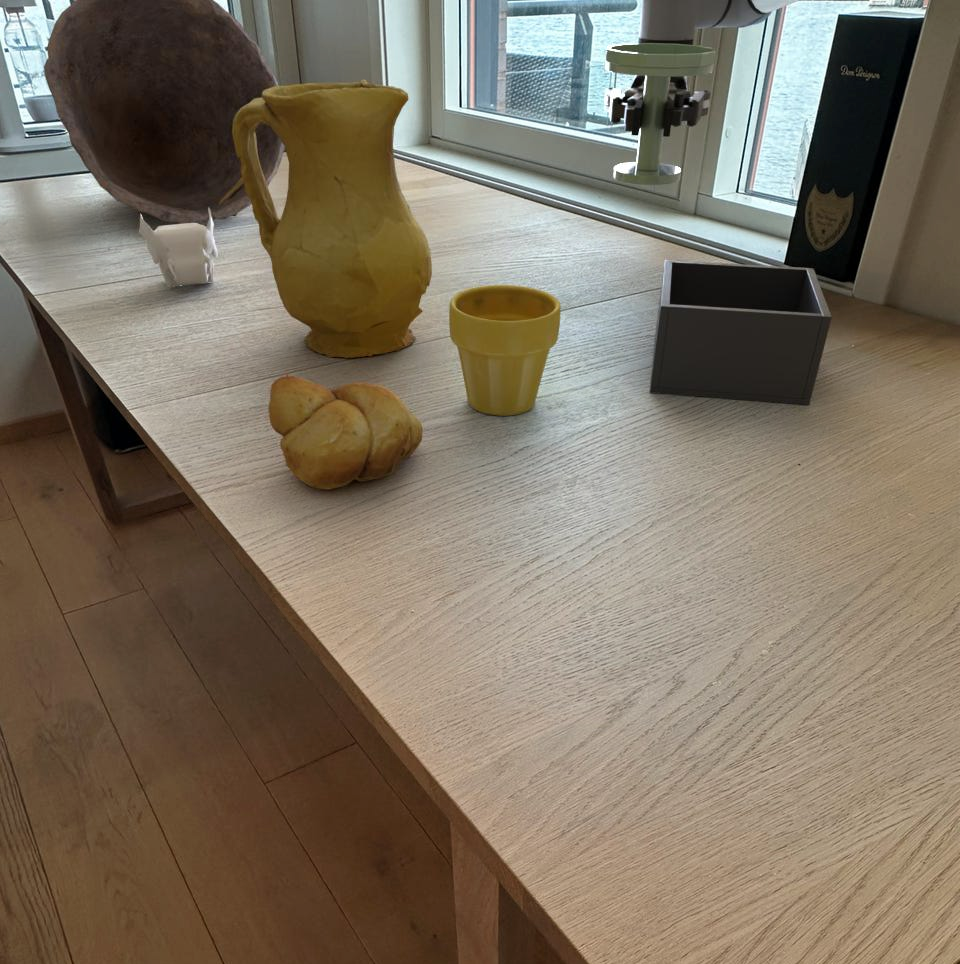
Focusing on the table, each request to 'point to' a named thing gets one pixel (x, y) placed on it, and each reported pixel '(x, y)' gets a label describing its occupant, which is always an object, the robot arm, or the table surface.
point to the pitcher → (338, 215)
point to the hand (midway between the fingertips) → (652, 122)
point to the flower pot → (503, 344)
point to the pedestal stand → (655, 100)
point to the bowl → (160, 102)
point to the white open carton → (182, 251)
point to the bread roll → (341, 430)
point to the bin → (739, 332)
